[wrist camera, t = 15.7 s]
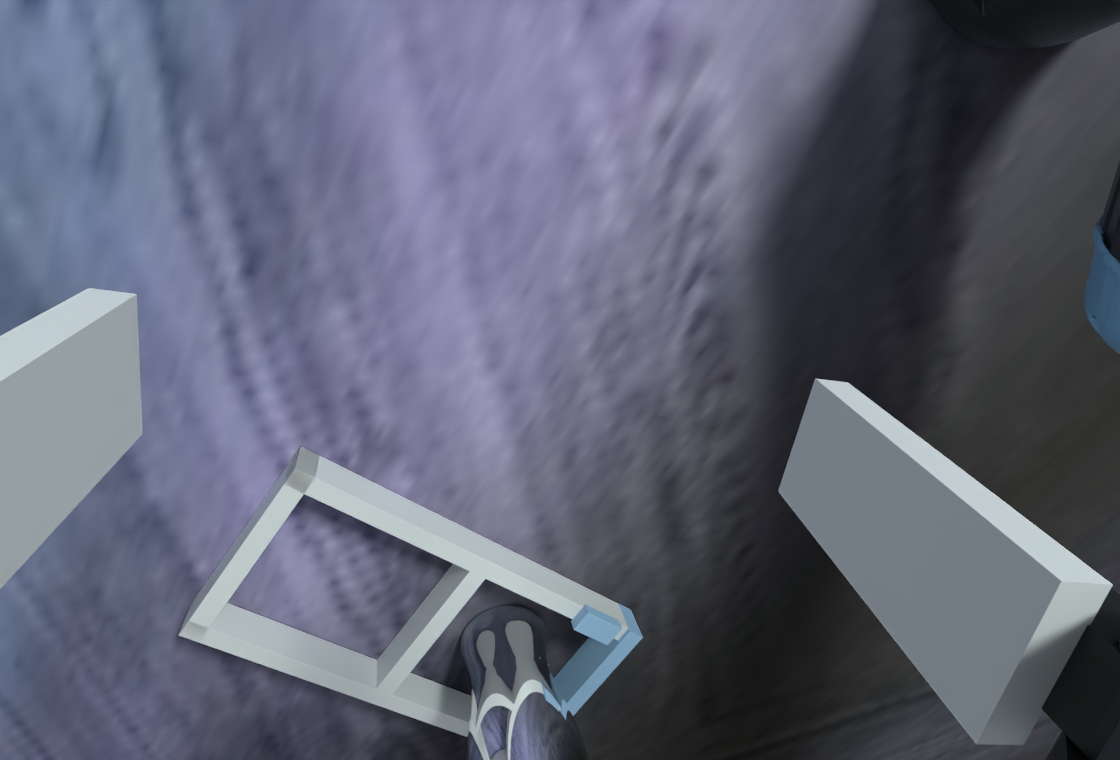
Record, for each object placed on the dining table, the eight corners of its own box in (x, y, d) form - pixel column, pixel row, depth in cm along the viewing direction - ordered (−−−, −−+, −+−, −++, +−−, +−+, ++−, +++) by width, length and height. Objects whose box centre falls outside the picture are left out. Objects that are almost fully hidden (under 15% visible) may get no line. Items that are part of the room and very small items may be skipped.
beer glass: (512, 689, 52) (554, 905, 38) (433, 655, 49) (448, 876, 36) (570, 622, 50) (634, 822, 37) (492, 584, 48) (531, 785, 34)
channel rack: (189, 606, 43) (178, 635, 41) (300, 446, 41) (295, 468, 38) (524, 730, 54) (530, 759, 52) (630, 609, 51) (641, 634, 49)
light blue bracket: (466, 711, 52) (470, 750, 49) (576, 579, 49) (588, 612, 46) (523, 732, 54) (531, 770, 51) (632, 607, 51) (647, 640, 48)
